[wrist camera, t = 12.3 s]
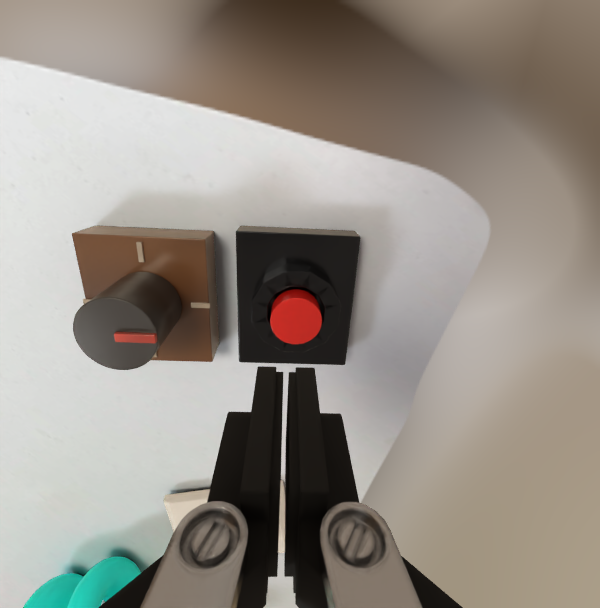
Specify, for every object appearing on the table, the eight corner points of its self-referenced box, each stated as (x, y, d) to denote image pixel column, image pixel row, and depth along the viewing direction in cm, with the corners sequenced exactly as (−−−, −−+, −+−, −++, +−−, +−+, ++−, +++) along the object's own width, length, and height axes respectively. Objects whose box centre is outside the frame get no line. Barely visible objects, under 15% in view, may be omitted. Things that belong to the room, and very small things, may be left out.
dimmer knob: (118, 332, 26) (78, 371, 21) (107, 269, 24) (61, 297, 19) (184, 334, 26) (160, 374, 21) (179, 272, 24) (151, 301, 19)
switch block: (239, 225, 26) (231, 236, 22) (355, 230, 26) (366, 242, 23) (242, 349, 30) (235, 375, 27) (341, 351, 31) (348, 377, 27)
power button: (271, 288, 24) (270, 297, 23) (321, 289, 24) (323, 298, 23) (271, 332, 26) (269, 343, 24) (318, 333, 26) (320, 345, 24)
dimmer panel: (93, 225, 26) (68, 233, 23) (215, 230, 26) (206, 239, 23) (114, 340, 30) (95, 360, 27) (220, 343, 30) (213, 363, 27)
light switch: (293, 574, 38) (177, 591, 37) (290, 536, 42) (186, 551, 41) (284, 509, 34) (154, 526, 33) (282, 474, 37) (165, 489, 37)
